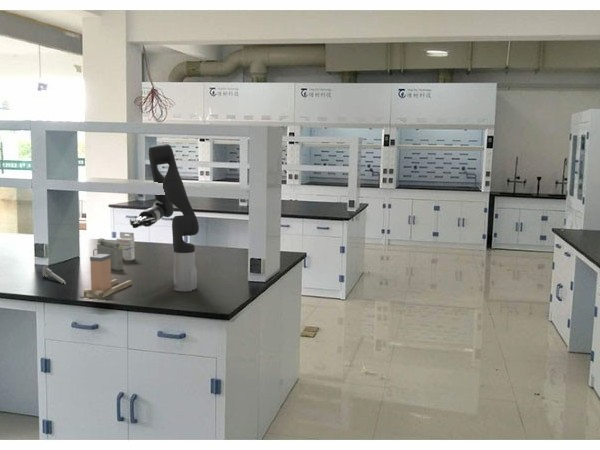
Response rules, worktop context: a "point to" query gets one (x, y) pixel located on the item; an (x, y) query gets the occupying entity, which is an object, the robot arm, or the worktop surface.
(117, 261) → the geiger counter
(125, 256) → the ink cartridge box
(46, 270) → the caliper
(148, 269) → the worktop surface
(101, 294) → the chute
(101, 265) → the block
